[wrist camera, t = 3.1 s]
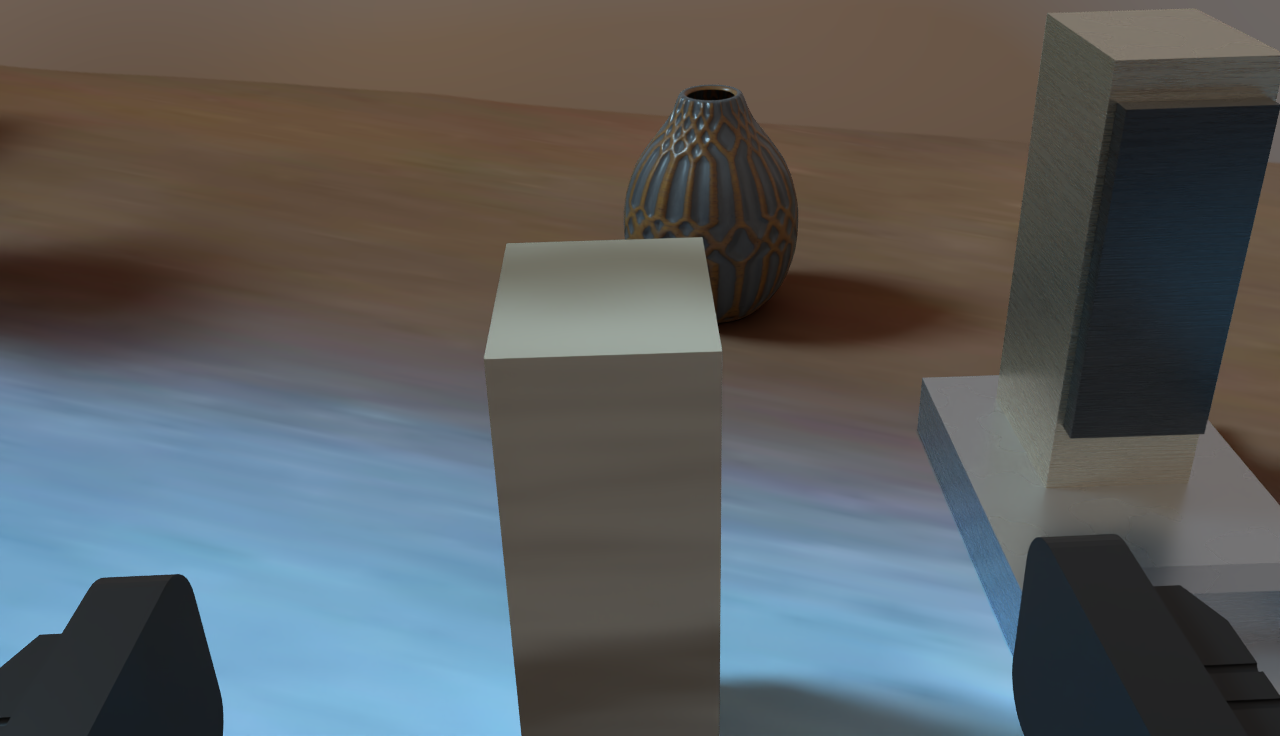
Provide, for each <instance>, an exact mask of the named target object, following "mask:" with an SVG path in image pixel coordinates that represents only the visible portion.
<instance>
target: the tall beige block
mask: <svg viewBox="0 0 1280 736" xmlns="http://www.w3.org/2000/svg"><path fill="white" fill-rule="evenodd" d="M484 366H485V376H486V386H487V396H488V406H489V416H490V426H491V436H492V446H493V456H494V466H495V476H496V486H497V496H498V506H499V516H500V526H501V536H502V546H503V556H504V566H505V576H506V586H507V596H508V606H509V616H510V626H511V636H512V646H513V656H514V666H515V675H516V685H517V695H518V705H519V715H520V725H521V735H522V736H719V716H720V578H721V441H722V348H721V342H720V336H719V330H718V324H717V319H716V313H715V307H714V301H713V295H712V290H711V284H710V278H709V272H708V267H707V261H706V255H705V249H704V243H703V238H702V237H694V238H664V239H633V240H602V241H571V242H540V243H509V244H506V249H505V254H504V259H503V264H502V270H501V275H500V280H499V285H498V290H497V295H496V300H495V305H494V310H493V315H492V320H491V325H490V330H489V336H488V341H487V346H486V351H485V356H484Z"/></svg>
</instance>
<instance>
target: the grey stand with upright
mask: <svg viewBox="0 0 1280 736" xmlns="http://www.w3.org/2000/svg"><path fill="white" fill-rule="evenodd" d="M1279 86H1280V51H1278V50H1276V49H1274V48H1272V47H1270V46H1268V45H1266V44H1264V43H1262V42H1260V41H1258V40H1256V39H1254V38H1252V37H1250V36H1248V35H1246V34H1244V33H1243V32H1241V31H1239V30H1237V29H1235V28H1233V27H1230V26H1229V25H1227V24H1225V23H1223V22H1221V21H1219V20H1217V19H1215V18H1213V17H1211V16H1209V15H1207V14H1205V13H1203V12H1201V11H1199V10H1197V9H1195V8H1194V9H1165V10H1133V11H1102V12H1101V11H1100V12H1068V13H1047V19H1046V27H1045V34H1044V42H1043V49H1042V57H1041V64H1040V72H1039V79H1038V87H1037V94H1036V102H1035V109H1034V117H1033V124H1032V133H1031V139H1030V147H1029V154H1028V162H1027V169H1026V177H1025V185H1024V192H1023V200H1022V207H1021V215H1020V222H1019V230H1018V237H1017V245H1016V252H1015V260H1014V267H1013V275H1012V282H1011V290H1010V298H1009V305H1008V313H1007V320H1006V328H1005V335H1004V343H1003V350H1002V358H1001V365H1000V373H999V375H995V376H965V377H935V378H922V386H921V397H920V407H919V417H918V427H917V431H918V433H919V435H920V438H921V440H922V442H923V445H924V447H925V449H926V452H927V454H928V456H929V459H930V461H931V464H932V466H933V468H934V471H935V473H936V475H937V478H938V480H939V482H940V485H941V487H942V489H943V492H944V494H945V496H946V499H947V501H948V504H949V506H950V508H951V511H952V513H953V515H954V518H955V520H956V522H957V525H958V527H959V529H960V532H961V534H962V536H963V539H964V541H965V544H966V546H967V548H968V551H969V553H970V555H971V558H972V560H973V562H974V565H975V567H976V569H977V572H978V574H979V576H980V579H981V581H982V584H983V586H984V588H985V591H986V593H987V595H988V598H989V600H990V602H991V605H992V607H993V609H994V612H995V614H996V616H997V619H998V621H999V624H1000V626H1001V628H1002V631H1003V633H1004V635H1005V638H1006V640H1007V642H1008V645H1009V647H1010V649H1011V652H1012V654H1013V655H1014V648H1015V641H1016V633H1017V626H1018V618H1019V611H1020V604H1021V596H1022V589H1023V582H1024V574H1025V567H1026V560H1027V554H1028V550H1029V547H1030V544H1031V542H1032V541H1033V540H1034V539H1035V538H1037V537H1055V536H1077V535H1099V534H1116V535H1118V536H1120V537H1121V538H1122V539H1123V540H1124V542H1125V543H1126V544H1127V546H1128V547H1129V549H1130V550H1131V552H1132V554H1133V555H1134V557H1135V558H1136V560H1137V561H1138V563H1139V565H1140V566H1141V568H1142V569H1143V571H1144V572H1145V574H1146V576H1147V577H1148V579H1149V580H1150V582H1151V584H1152V585H1153V586H1171V585H1181V586H1182V587H1183V588H1185V589H1186V590H1188V591H1189V592H1190V593H1192V594H1193V595H1194V596H1196V597H1197V598H1198V599H1200V600H1201V601H1202V602H1204V603H1205V604H1206V605H1208V606H1209V607H1210V608H1212V609H1213V610H1214V611H1216V612H1217V613H1218V614H1220V615H1221V616H1222V617H1224V618H1225V619H1227V620H1228V621H1229V623H1230V624H1231V626H1232V627H1233V629H1234V630H1235V631H1236V633H1237V634H1238V636H1239V637H1240V639H1241V640H1242V642H1243V643H1244V644H1245V646H1246V647H1247V649H1248V650H1249V652H1250V653H1251V654H1252V656H1253V657H1254V659H1255V660H1256V662H1257V668H1258V671H1259V672H1261V671H1263V672H1264V673H1265V675H1266V676H1267V678H1268V679H1269V680H1270V682H1271V683H1272V685H1273V686H1274V688H1275V689H1276V690H1277V692H1278V693H1279V695H1280V505H1279V504H1278V503H1277V502H1276V500H1275V499H1274V498H1273V497H1272V496H1271V494H1270V493H1269V492H1268V491H1267V490H1266V488H1265V487H1264V486H1263V485H1262V484H1261V483H1260V481H1259V480H1258V479H1257V478H1256V477H1255V475H1254V474H1253V473H1252V472H1251V471H1250V469H1249V468H1248V467H1247V466H1246V465H1245V463H1244V462H1243V461H1242V460H1241V459H1240V458H1239V456H1238V455H1237V454H1236V453H1235V452H1234V450H1233V449H1232V448H1231V447H1230V446H1229V444H1228V443H1227V442H1226V441H1225V440H1224V439H1223V437H1222V436H1221V435H1220V434H1219V433H1218V431H1217V430H1216V429H1215V428H1214V427H1213V425H1212V424H1211V423H1210V422H1209V421H1208V416H1209V412H1210V408H1211V403H1212V399H1213V395H1214V390H1215V386H1216V382H1217V377H1218V373H1219V369H1220V365H1221V360H1222V356H1223V352H1224V347H1225V343H1226V339H1227V334H1228V330H1229V326H1230V322H1231V317H1232V313H1233V309H1234V304H1235V300H1236V296H1237V291H1238V287H1239V283H1240V278H1241V274H1242V270H1243V266H1244V261H1245V257H1246V253H1247V248H1248V244H1249V240H1250V235H1251V231H1252V227H1253V222H1254V218H1255V214H1256V210H1257V205H1258V201H1259V197H1260V192H1261V188H1262V184H1263V179H1264V175H1265V171H1266V166H1267V162H1268V158H1269V154H1270V149H1271V145H1272V140H1273V136H1274V132H1275V127H1276V123H1277V119H1278V115H1279V110H1280V104H1279V103H1277V102H1276V99H1277V95H1278V90H1279Z"/></svg>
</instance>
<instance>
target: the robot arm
mask: <svg viewBox="0 0 1280 736" xmlns="http://www.w3.org/2000/svg"><path fill="white" fill-rule="evenodd" d="M1012 680H1013V692H1014V700H1015V705H1016V711H1017V715H1018V719H1019V722H1020V726H1021V728H1022V731H1023V734H1024V736H1280V695H1279V693H1278V692H1277V690H1276V689H1275V688H1274V686H1273V685H1272V683H1271V682H1270V680H1269V679H1268V678H1267V676H1266V675H1265V673H1264V672H1263V671H1261V672H1259V671H1258V668H1257V662H1256V660H1255V659H1254V657H1253V656H1252V654H1251V653H1250V652H1249V650H1248V649H1247V647H1246V646H1245V644H1244V643H1243V642H1242V640H1241V639H1240V637H1239V636H1238V634H1237V633H1236V631H1235V630H1234V629H1233V627H1232V626H1231V624H1230V623H1229V621H1228V620H1227V619H1225V618H1224V617H1222V616H1221V615H1220V614H1218V613H1217V612H1216V611H1214V610H1213V609H1212V608H1210V607H1209V606H1208V605H1206V604H1205V603H1204V602H1202V601H1201V600H1200V599H1198V598H1197V597H1196V596H1194V595H1193V594H1192V593H1190V592H1189V591H1188V590H1186V589H1185V588H1183V587H1182V586H1181V585H1171V586H1153V585H1152V584H1151V582H1150V580H1149V579H1148V577H1147V576H1146V574H1145V572H1144V571H1143V569H1142V568H1141V566H1140V565H1139V563H1138V561H1137V560H1136V558H1135V557H1134V555H1133V554H1132V552H1131V550H1130V549H1129V547H1128V546H1127V544H1126V543H1125V542H1124V540H1123V539H1122V538H1121V537H1120V536H1118V535H1116V534H1099V535H1077V536H1055V537H1037V538H1035V539H1034V540H1033V541H1032V542H1031V544H1030V547H1029V550H1028V554H1027V560H1026V567H1025V574H1024V582H1023V589H1022V596H1021V604H1020V611H1019V618H1018V626H1017V633H1016V641H1015V648H1014V655H1013V665H1012ZM0 736H223V705H222V698H221V693H220V689H219V685H218V682H217V678H216V674H215V670H214V667H213V663H212V659H211V655H210V652H209V648H208V644H207V640H206V637H205V633H204V629H203V626H202V622H201V618H200V614H199V611H198V607H197V603H196V599H195V596H194V592H193V589H192V587H191V585H190V583H189V581H188V580H187V578H185V577H184V576H183V575H180V574H174V575H152V576H130V577H108V578H100V579H98V580H96V581H95V582H94V583H93V584H92V586H91V587H90V588H89V590H88V591H87V593H86V595H85V596H84V598H83V600H82V601H81V603H80V605H79V606H78V608H77V609H76V611H75V613H74V614H73V616H72V618H71V619H70V621H69V623H68V624H67V626H66V628H65V629H64V631H63V633H62V634H45V635H39V636H38V637H37V638H35V639H34V640H33V641H32V642H31V643H29V644H28V645H27V646H26V647H25V648H23V649H22V650H21V651H20V652H19V653H17V654H16V655H15V656H14V657H13V658H11V659H10V660H9V661H8V662H7V663H5V664H4V665H3V666H2V667H1V668H0Z"/></svg>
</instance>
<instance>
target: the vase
mask: <svg viewBox="0 0 1280 736" xmlns="http://www.w3.org/2000/svg"><path fill="white" fill-rule="evenodd" d="M797 232H798V204H797V198H796V193H795V188H794V184H793V180H792V177H791V174H790V171H789V169H788V167H787V164H786V162H785V160H784V158H783V157H782V155H781V153H780V152H779V151H778V149H777V148H776V146H775V145H774V144H773V142H772V141H771V140H770V138H769V137H768V136H767V135H766V133H765V132H764V131H763V129H762V128H761V127H760V126H759V124H758V123H757V122H756V120H755V119H754V118H753V116H752V114H751V112H750V110H749V108H748V106H747V104H746V101H745V98H744V96H743V94H742V92H741V91H740V90H738V89H736V88H734V87H730V86H724V85H700V86H694V87H690V88H687V89H685V90H683V91H682V92H681V93H680V94H679V96H678V98H677V101H676V103H675V106H674V108H673V111H672V113H671V115H670V116H669V118H668V120H667V121H666V122H665V124H664V125H663V126H662V128H661V129H660V130H659V131H658V133H657V134H656V135H655V137H654V138H653V139H652V141H651V142H650V143H649V145H648V146H647V147H646V149H645V150H644V152H643V153H642V155H641V156H640V158H639V160H638V161H637V163H636V165H635V168H634V170H633V173H632V176H631V179H630V182H629V185H628V189H627V194H626V199H625V206H624V233H625V240H633V239H664V238H694V237H702V238H703V243H704V249H705V255H706V261H707V267H708V272H709V278H710V284H711V290H712V295H713V301H714V307H715V313H716V319H717V323H723V322H729V321H734V320H738V319H741V318H744V317H746V316H748V315H750V314H752V313H753V312H754V311H756V310H757V309H758V308H760V307H761V306H762V305H763V304H764V303H765V302H767V301H768V300H769V299H770V298H771V297H772V296H773V294H774V293H775V292H776V291H777V289H778V288H779V287H780V286H781V284H782V282H783V280H784V278H785V276H786V275H787V272H788V270H789V267H790V265H791V262H792V259H793V255H794V252H795V247H796V241H797Z"/></svg>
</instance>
